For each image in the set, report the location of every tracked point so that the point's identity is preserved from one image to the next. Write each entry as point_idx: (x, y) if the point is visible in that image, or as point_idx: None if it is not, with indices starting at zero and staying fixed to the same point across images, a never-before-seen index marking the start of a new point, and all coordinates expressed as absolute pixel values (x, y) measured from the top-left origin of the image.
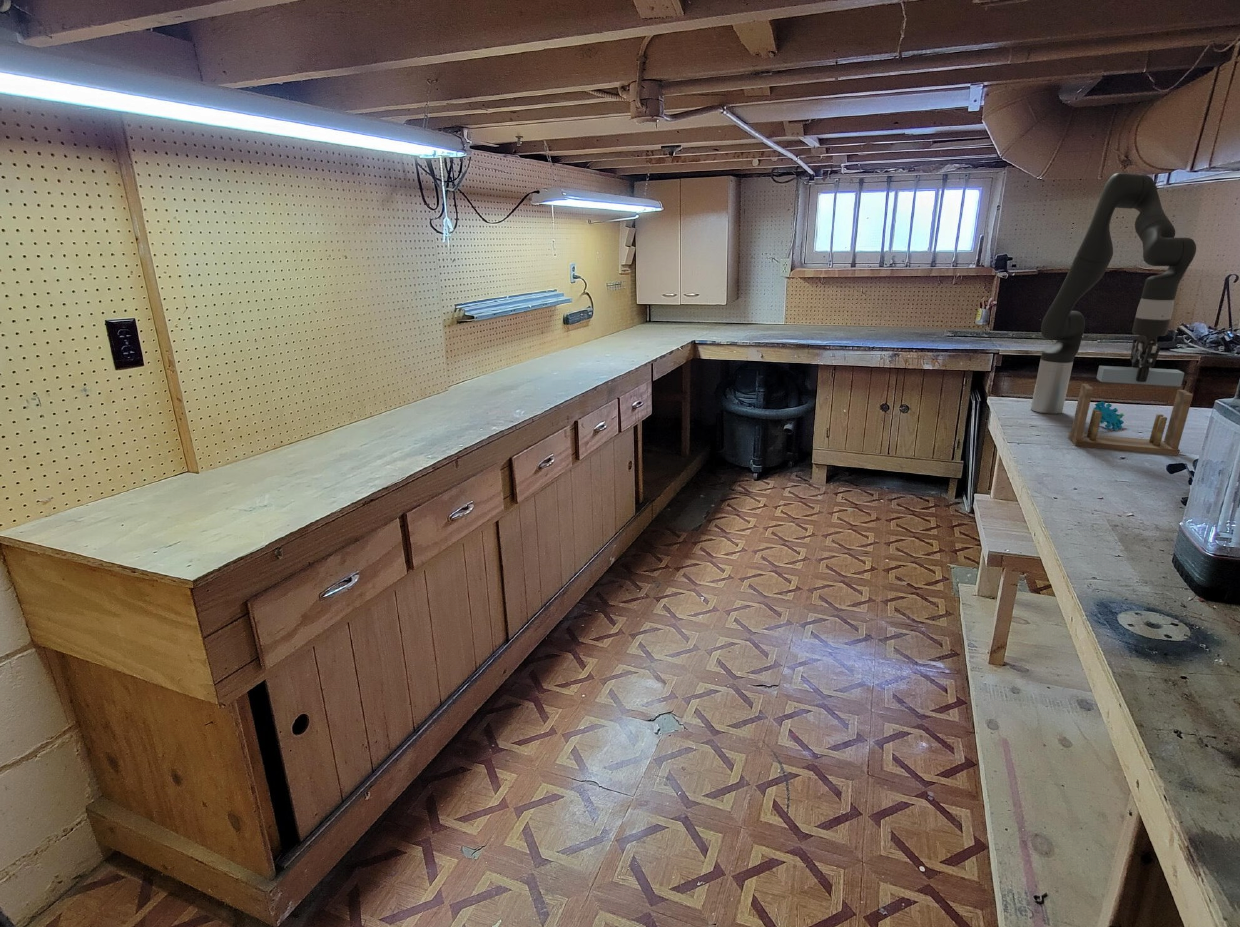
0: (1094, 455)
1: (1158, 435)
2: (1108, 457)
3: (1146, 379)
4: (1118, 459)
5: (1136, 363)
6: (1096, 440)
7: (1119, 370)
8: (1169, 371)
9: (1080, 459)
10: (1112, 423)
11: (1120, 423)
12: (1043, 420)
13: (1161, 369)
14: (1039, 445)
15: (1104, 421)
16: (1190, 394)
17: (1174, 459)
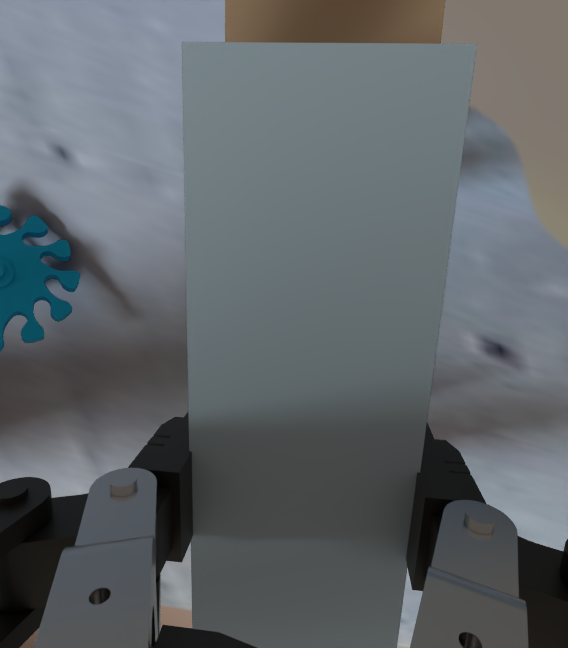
0: (481, 433)
1: None
2: (498, 394)
3: (427, 428)
4: (518, 369)
5: (164, 541)
6: None
7: None
8: (369, 216)
9: (545, 491)
10: (39, 259)
11: (9, 218)
12: (25, 462)
13: (232, 265)
14: None
15: (62, 302)
16: (427, 11)
17: (470, 155)
